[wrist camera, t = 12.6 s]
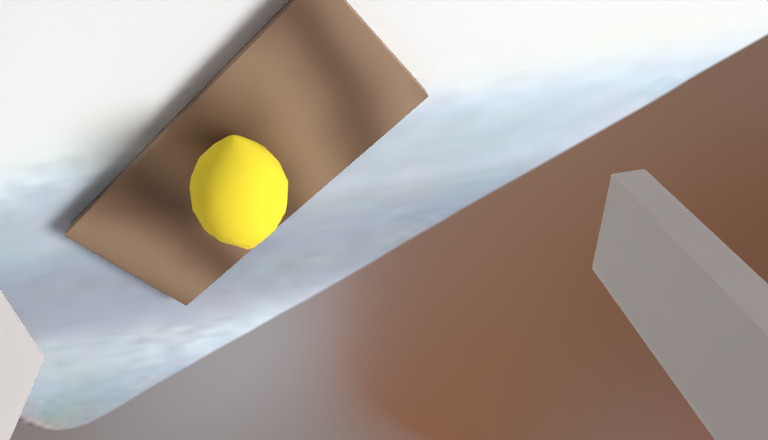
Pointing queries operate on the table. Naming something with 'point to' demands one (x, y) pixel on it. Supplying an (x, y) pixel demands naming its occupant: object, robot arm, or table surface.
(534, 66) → the table surface
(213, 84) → the cutting board
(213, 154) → the lemon
